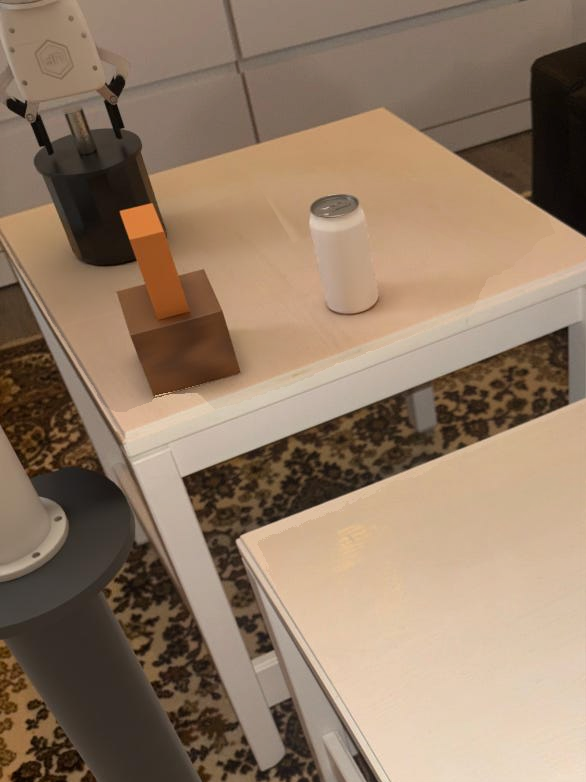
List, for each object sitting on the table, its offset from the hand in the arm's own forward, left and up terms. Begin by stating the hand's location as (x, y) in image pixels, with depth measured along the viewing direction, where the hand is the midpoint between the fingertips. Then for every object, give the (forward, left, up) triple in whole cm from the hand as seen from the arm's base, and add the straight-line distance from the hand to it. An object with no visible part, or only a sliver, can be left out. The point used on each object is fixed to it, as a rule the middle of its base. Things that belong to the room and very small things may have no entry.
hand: (84, 142), depth 125 cm
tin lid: (0, 0, -2) cm, 2 cm away
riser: (+3, -35, -13) cm, 37 cm away
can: (+24, -31, -13) cm, 41 cm away
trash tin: (0, 0, -13) cm, 13 cm away
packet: (+3, -35, -5) cm, 35 cm away
